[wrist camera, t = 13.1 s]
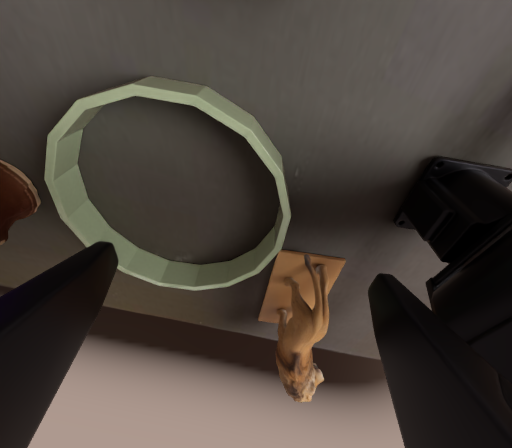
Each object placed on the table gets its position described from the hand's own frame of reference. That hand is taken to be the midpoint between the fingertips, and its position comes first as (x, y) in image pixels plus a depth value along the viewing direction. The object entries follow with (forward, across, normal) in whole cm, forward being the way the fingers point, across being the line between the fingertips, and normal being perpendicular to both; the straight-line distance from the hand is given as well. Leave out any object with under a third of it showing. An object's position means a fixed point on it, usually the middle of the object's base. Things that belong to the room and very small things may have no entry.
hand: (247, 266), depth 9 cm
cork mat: (+13, -7, +18) cm, 23 cm away
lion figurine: (+12, -7, +18) cm, 23 cm away
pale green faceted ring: (+13, +6, +6) cm, 15 cm away
